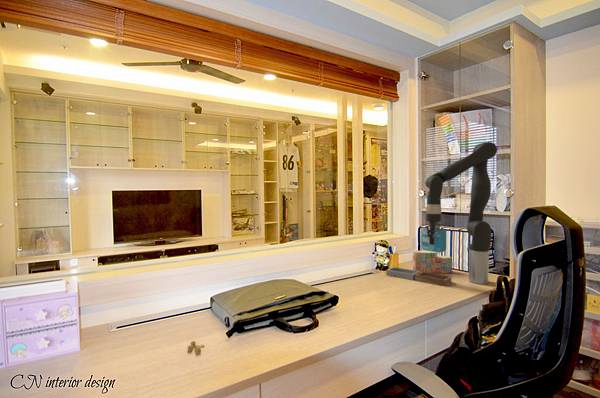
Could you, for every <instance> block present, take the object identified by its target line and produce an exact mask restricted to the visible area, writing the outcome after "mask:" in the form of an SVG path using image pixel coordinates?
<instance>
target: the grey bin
mask: <svg viewBox="0 0 600 398" xmlns="http://www.w3.org/2000/svg"><path fill="white" fill-rule="evenodd" d="M385 272H386V273H385V274H386V276H389V277H395V278H400V279H405V280H411V281H415V275H416V274H418V273H420V271H416V270H413V269H409V268H404V267H398V266H397V267H396V266H392V267H390V268H388V269H386V271H385Z"/></svg>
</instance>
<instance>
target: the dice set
mask: <svg viewBox="0 0 600 398" xmlns="http://www.w3.org/2000/svg"><path fill="white" fill-rule="evenodd" d="M193 348H194V349H195V350H194V351H195V353H196V354H201V352H202V348H205V344H196V340H192V341H191V342H190V345H187V352H192V351H193Z"/></svg>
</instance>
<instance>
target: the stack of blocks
mask: <svg viewBox="0 0 600 398" xmlns="http://www.w3.org/2000/svg"><path fill="white" fill-rule="evenodd" d="M412 270H416V271H420V272H427V273H433V274H452V273H453V257H451V256H449V255H437V252H433V251H427V250H413V251H412Z"/></svg>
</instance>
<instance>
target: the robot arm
mask: <svg viewBox="0 0 600 398" xmlns="http://www.w3.org/2000/svg"><path fill="white" fill-rule="evenodd" d="M497 153H498V147H497V145H496V144H495V143H493V142H491V141H485V142H482V143H478V144H476V145H475V146H474V147H473V149H472V153H470V154H468V155H466V156H465V157H463V158H461V159H459V160H457V161H454V162H453V163H451V164H449V165H447V166H445V167H444V168H443V169H441V170H440V171H437V172H436V173H434V174H432V175H429V176H428V177H427V178H426V179H425V183H424V185H425V187H427V189H429V190H428V194H427V196H426V207H425V208H426V209H425V210H426V212H425V215H426V216H425V217H426V218H425V221H426V222H429V224H428V225H427V226H426V228H427V235H428V237H429V244H431V245H433V244H434V234H435V230H436V229H441V224H440V222H442V200H441V199H442V198H441V196H442V192H443V188H444V183H445V182H449V181H452V180H453V179H455V178H457V177H458V176H459V175H461V174H463V173H464V172H466V171H468V170H469V169H471V168H472V176H471V189H470V205H469V215H468V218H467V225H466V231H467V233H468V234H469V235H470V236H472V243H470V244H469V249H468V251H469V255H468V281H469V282H470V283H473V284H477V285H488V284H489V269H490V268H489V260H490V256H489V255H490V254H489V253H490V248H491V244H492V227H491V225H490V224H489V223H488V222H486V221H484V211H485V209H486V206H487V205H488V203H489V201H490V198H491V189H492V182H491V179H490V176H489V173H488V162H489V160H490V159H492V158H494V157H495V156H496V155H497ZM433 230H434V232H433Z"/></svg>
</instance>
